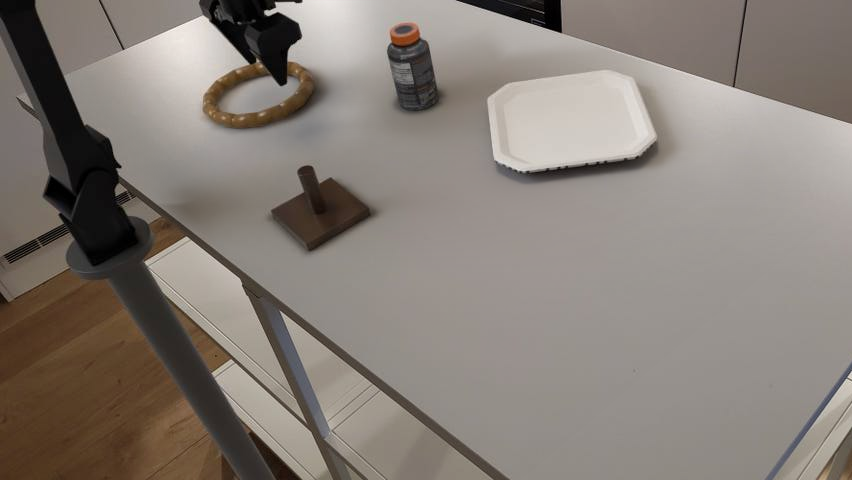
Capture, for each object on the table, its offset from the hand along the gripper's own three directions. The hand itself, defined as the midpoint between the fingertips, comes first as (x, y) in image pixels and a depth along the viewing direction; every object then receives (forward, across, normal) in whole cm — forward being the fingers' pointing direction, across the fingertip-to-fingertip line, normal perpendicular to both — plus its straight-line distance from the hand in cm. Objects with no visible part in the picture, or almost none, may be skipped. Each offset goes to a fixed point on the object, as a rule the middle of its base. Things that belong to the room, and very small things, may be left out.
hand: (268, 73), depth 107 cm
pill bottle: (+7, -12, -16) cm, 22 cm away
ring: (+6, +8, 0) cm, 10 cm away
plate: (+7, -34, -25) cm, 43 cm away
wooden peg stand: (+7, -24, +8) cm, 27 cm away
